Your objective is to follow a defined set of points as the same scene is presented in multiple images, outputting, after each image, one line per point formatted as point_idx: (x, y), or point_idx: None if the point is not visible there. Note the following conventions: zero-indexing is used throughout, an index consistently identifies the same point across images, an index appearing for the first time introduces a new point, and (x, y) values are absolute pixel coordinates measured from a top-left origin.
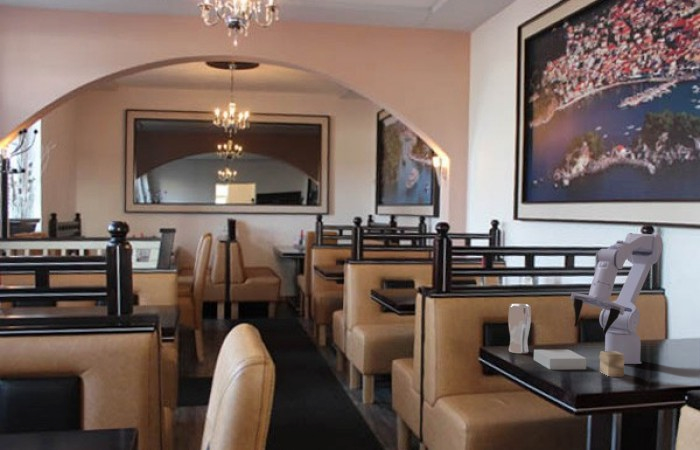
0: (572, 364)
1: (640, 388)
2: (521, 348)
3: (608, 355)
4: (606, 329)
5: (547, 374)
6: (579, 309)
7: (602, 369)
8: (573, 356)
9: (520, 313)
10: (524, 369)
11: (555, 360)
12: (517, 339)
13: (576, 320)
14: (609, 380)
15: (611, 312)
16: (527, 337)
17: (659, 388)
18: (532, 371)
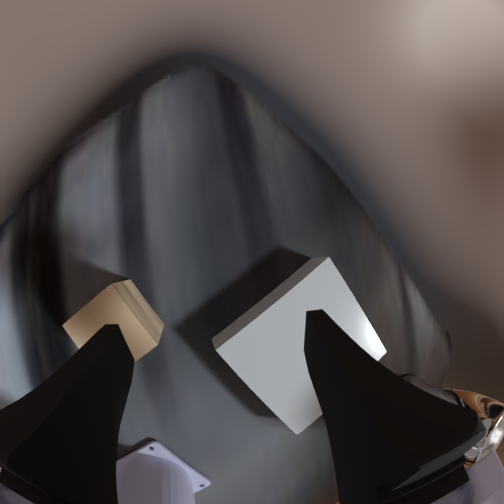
0: (255, 310)
1: (46, 191)
2: None
3: (113, 285)
4: (93, 338)
5: (302, 191)
6: (369, 391)
7: (151, 312)
8: (265, 350)
9: (484, 409)
10: (364, 214)
11: (311, 270)
12: (429, 388)
13: (329, 325)
14: (121, 228)
15: (17, 429)
16: None
17: (9, 224)
18: (343, 203)
